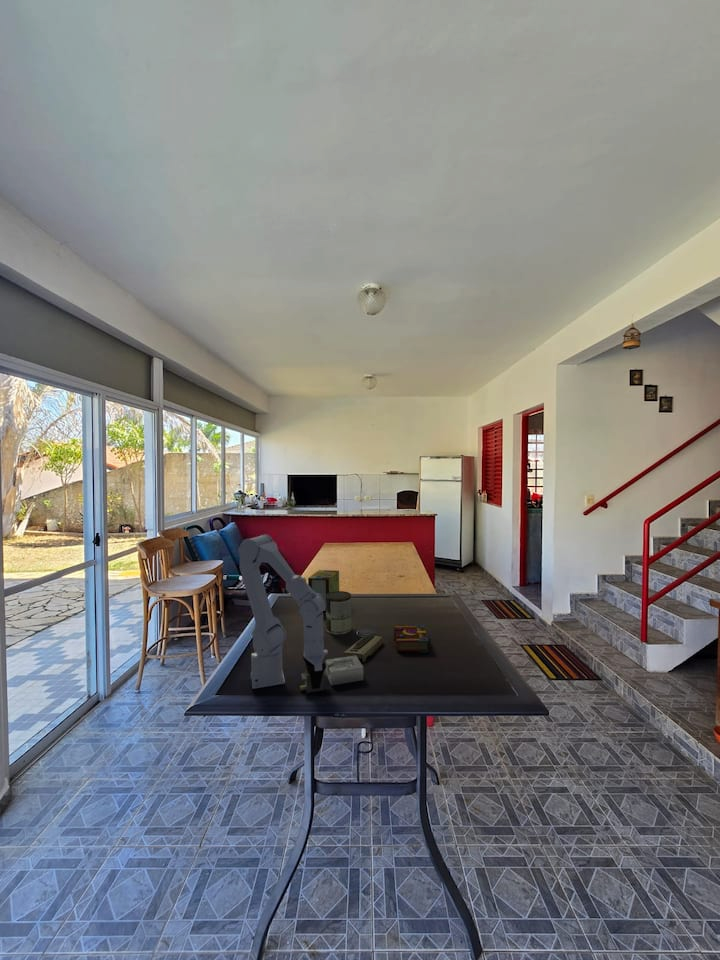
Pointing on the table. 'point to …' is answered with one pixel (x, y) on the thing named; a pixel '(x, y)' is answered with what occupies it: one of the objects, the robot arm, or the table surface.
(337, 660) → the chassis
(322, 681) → the block
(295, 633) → the table surface
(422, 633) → the decorative book
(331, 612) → the coffee can
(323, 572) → the protein box
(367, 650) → the computer
